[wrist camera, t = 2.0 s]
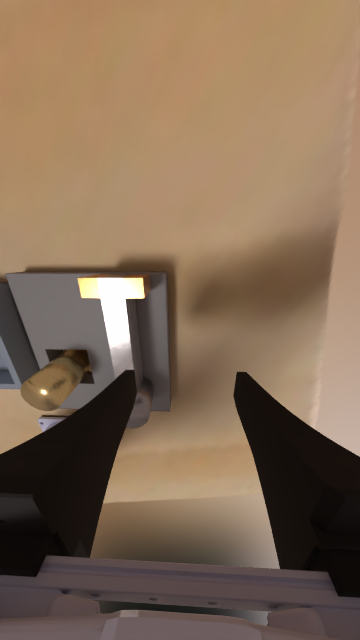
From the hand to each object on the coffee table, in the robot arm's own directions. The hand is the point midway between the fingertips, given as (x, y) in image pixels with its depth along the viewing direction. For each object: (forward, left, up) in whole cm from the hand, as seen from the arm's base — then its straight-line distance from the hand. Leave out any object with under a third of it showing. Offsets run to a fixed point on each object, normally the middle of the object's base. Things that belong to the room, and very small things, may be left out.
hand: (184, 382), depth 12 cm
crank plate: (-2, +10, -9) cm, 14 cm away
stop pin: (-5, +14, -9) cm, 17 cm away
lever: (-2, +6, -7) cm, 9 cm away
